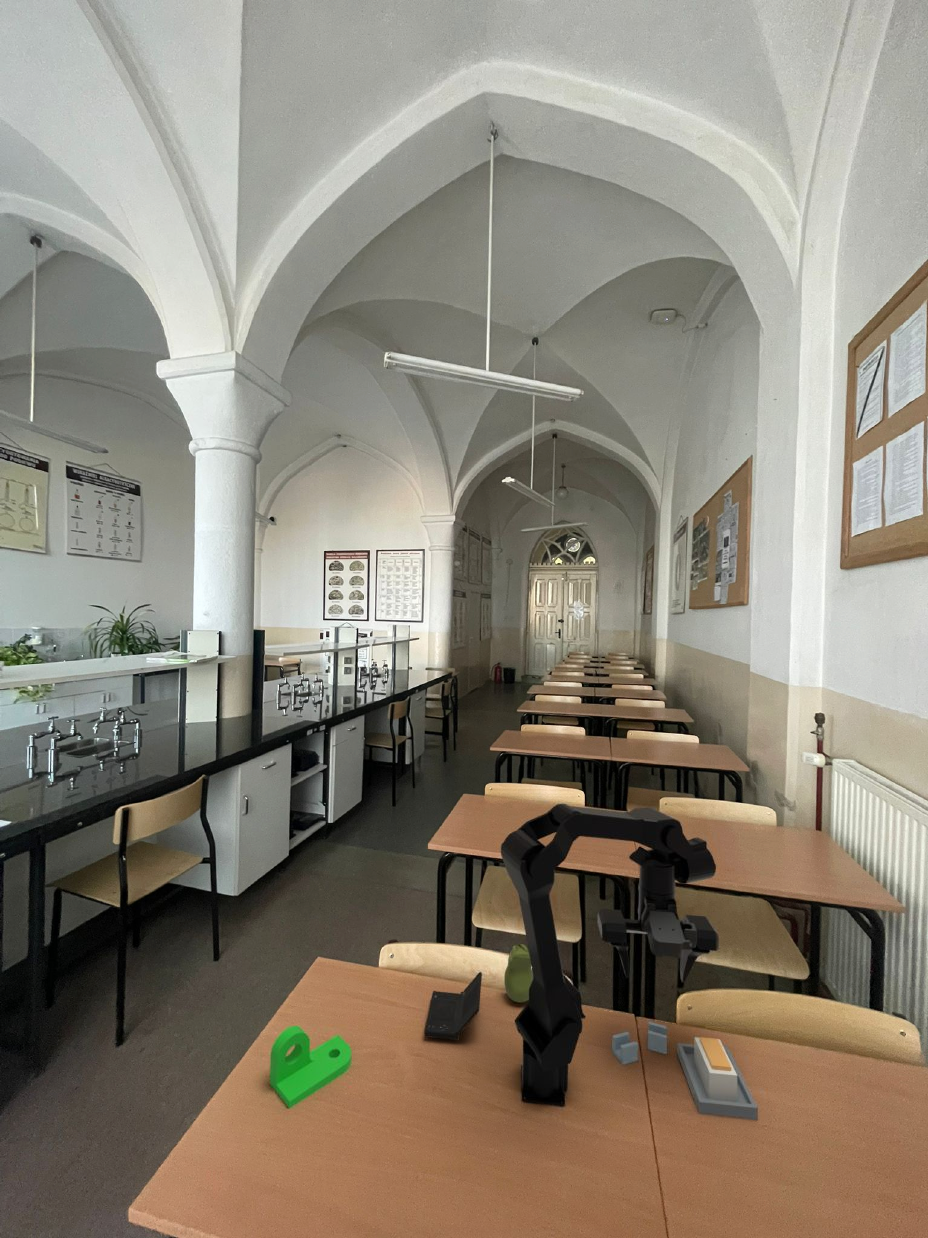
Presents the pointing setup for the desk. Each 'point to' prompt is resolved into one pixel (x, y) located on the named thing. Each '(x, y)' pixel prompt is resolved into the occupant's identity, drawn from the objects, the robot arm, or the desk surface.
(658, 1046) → the clip
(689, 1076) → the grey rectangular tray
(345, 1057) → the mechanical part
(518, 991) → the pear
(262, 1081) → the desk surface
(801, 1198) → the desk surface
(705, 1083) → the white orange block
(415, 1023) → the desk surface
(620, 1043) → the clip
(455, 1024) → the handheld gaming console
